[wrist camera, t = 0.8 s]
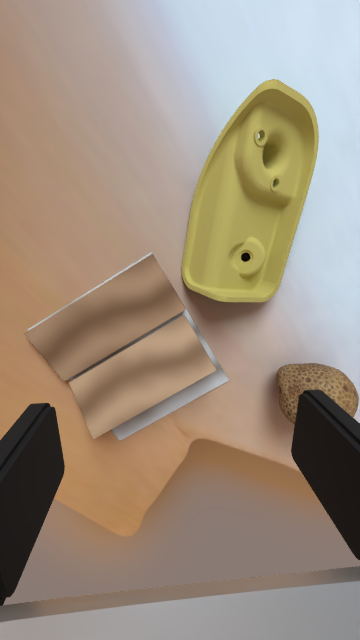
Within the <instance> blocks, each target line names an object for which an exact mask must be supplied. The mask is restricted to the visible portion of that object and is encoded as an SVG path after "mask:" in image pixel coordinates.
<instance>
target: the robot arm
mask: <svg viewBox="0 0 360 640" xmlns="http://www.w3.org/2000/svg"><path fill="white" fill-rule="evenodd" d="M291 452H292V457H293V459H294V461H295V463H296V464H297V466H298V467H299V469H300V471H301V472H302V474H303V475H304V477H305V478H306V480H307V481H308V483H309V484H310V486H311V488H312V489H313V491H314V493H315V494H316V496H317V497H318V499H319V501H320V502H321V503H322V505H323V507H324V508H325V510H326V512H327V513H328V514H329V516H330V518H331V519H332V521H333V523H334V524H335V526H336V527H337V529H338V530H339V532H340V533H341V535H342V537H343V538H344V540H345V541H346V543H347V545H348V546H349V548H350V549H351V551H352V553H353V554H354V555H355V557H356V558H357V559H358V560H360V423H358V422H357V421H356V420H355V419H354V418H353V417H352V416H350V415H349V414H348V413H347V412H346V411H345V410H344V409H342V408H341V407H340V406H339V405H338V404H337V403H336V402H334V401H333V400H332V399H331V398H330V397H329V396H328V395H326V394H325V393H324V392H323V391H322V390H319V389H315V390H304V391H303V393H302V394H300V395H299V398H298V406H297V413H296V420H295V427H294V434H293V442H292V449H291ZM64 467H65V466H64V459H63V453H62V447H61V441H60V435H59V429H58V423H57V417H56V411H55V408H54V407H50V404H49V403H38V404H30V405H29V406H28V408H27V409H26V410H25V411H24V412H23V414H22V415H21V416H20V417H19V418H18V420H17V421H16V422H15V423H14V425H13V426H12V427H11V428H10V429H9V431H8V432H7V433H6V434H5V435H4V437H3V438H2V439H1V440H0V640H360V566H359V567H349V568H339V569H329V570H319V571H309V572H299V573H289V574H278V575H268V576H259V577H249V578H239V579H230V580H221V581H211V582H201V583H192V584H184V585H173V586H164V587H154V588H146V589H137V590H128V591H120V592H110V593H102V594H92V595H83V596H75V597H66V598H56V599H49V600H41V601H34V602H26V603H19V604H11V605H4V606H3V604H4V601H5V599H6V597H10V596H11V595H12V594H13V593H14V591H15V589H16V587H17V584H18V582H19V579H20V577H21V575H22V572H23V570H24V568H25V565H26V563H27V560H28V558H29V556H30V553H31V551H32V549H33V546H34V544H35V542H36V539H37V537H38V534H39V532H40V530H41V527H42V525H43V523H44V520H45V518H46V515H47V513H48V511H49V508H50V506H51V504H52V501H53V499H54V497H55V494H56V492H57V489H58V487H59V485H60V482H61V480H62V478H63V474H64Z"/></svg>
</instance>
